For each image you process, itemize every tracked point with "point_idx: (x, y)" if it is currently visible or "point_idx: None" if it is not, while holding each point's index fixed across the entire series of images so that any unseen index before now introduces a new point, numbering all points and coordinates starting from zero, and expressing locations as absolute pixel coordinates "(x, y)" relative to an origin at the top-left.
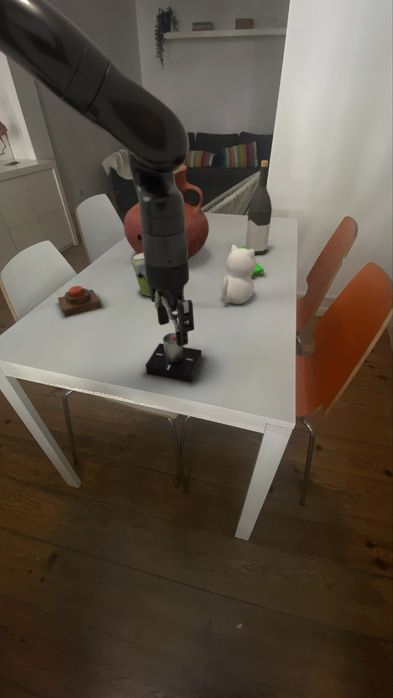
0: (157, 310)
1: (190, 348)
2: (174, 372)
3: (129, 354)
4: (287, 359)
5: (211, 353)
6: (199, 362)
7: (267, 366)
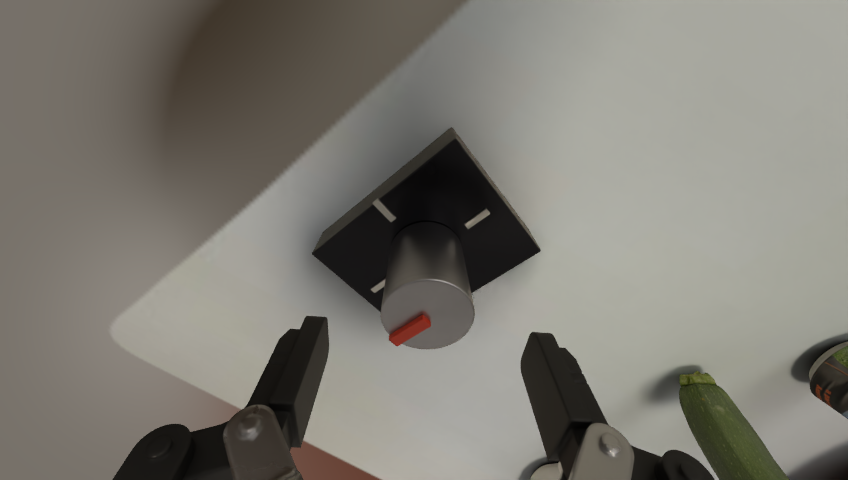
0: (582, 414)
1: None
2: (358, 212)
3: (611, 124)
4: None
5: None
6: None
7: None
